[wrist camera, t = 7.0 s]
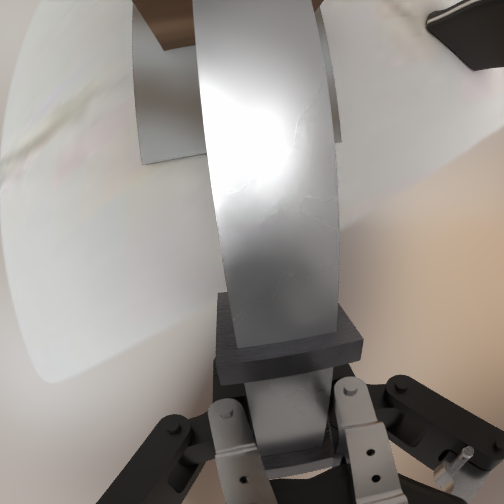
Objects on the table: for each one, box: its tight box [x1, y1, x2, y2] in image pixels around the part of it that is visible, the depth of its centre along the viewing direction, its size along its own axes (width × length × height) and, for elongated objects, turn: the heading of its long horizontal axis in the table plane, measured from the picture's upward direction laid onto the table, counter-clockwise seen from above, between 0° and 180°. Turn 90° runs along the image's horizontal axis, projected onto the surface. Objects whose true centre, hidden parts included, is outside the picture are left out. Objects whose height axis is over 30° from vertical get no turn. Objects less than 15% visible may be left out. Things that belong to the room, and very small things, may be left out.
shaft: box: [192, 0, 364, 479], centre depth 8 cm, size 21×4×4 cm, turn 6°
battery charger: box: [427, 0, 504, 71], centre depth 8 cm, size 7×4×11 cm, turn 71°
